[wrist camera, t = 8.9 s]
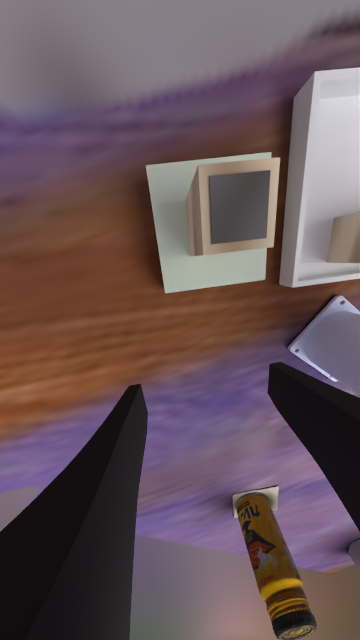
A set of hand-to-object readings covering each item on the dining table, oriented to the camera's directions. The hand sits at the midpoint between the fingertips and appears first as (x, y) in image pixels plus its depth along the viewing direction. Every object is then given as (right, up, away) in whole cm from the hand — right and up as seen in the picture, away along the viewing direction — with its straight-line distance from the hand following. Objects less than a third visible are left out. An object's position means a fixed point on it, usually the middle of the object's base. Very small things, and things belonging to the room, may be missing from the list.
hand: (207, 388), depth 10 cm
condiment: (+12, -30, +23) cm, 39 cm away
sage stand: (+1, +12, +6) cm, 13 cm away
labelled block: (+1, +11, +4) cm, 12 cm away
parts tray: (+15, +15, +6) cm, 22 cm away
